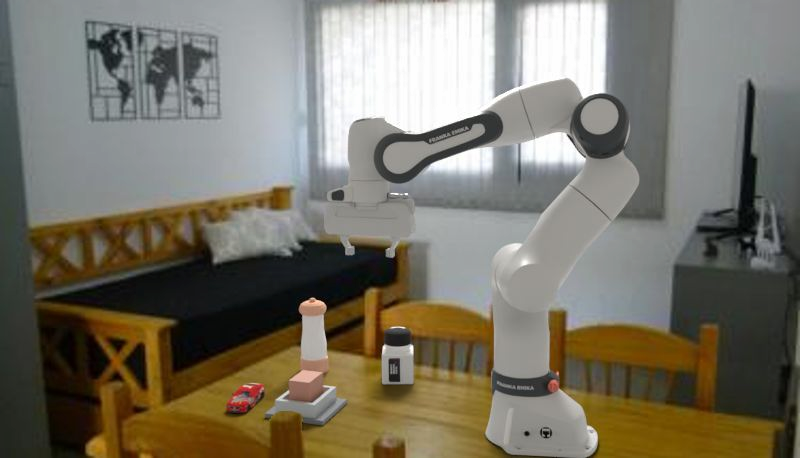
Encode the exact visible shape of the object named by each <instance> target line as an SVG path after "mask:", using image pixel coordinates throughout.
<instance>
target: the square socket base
mask: <svg viewBox="0 0 800 458" xmlns="http://www.w3.org/2000/svg"><path fill="white" fill-rule="evenodd" d="M347 404H348V399H347V398H339V397H337V386H334V385H333V386H331V385H324V384H323V394H322V395H321V396H320V397H319V398H318V399H316V400H315V401H314V402H313V403H309V402H301V401H293V400H289V389H288V390H287V391H286V392H284V393H283V394H281V395H280V396H279V397H277V398H275V400H274V406H272V407H271V408H270V409H269V410H267V411H265V413H264V418H267V419H271V418H270V417H271V416H273V415H274V414H275V413H277V412H279V411H293V412H297V413H300V414H301V415H302V419H303V423H304V424H309V425H317V426H324V425H325V424H326V423H328V422H329V421H330V420H331V419H332V418H333V417H334V416H335V415H336V414H337V413H339V411H340V410H341V409H343V408H344V407H345V406H346V405H347ZM329 419H330V420H329Z"/></svg>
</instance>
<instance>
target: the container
mask: <svg viewBox="0 0 800 458" xmlns="http://www.w3.org/2000/svg"><path fill="white" fill-rule="evenodd" d="M383 333H384V335H383V337H384V345H383V346H382V350H381V351H382V353H381V382H382V385H413V384H414V383H415V381H414V379H415V378H414V376H415V375H414V372H415V371H414V365H415V364H414V363H415V362H414V345H413V344H412V331H411V330H410V329H409V328H406V327H405V326H404V327H403V326H392V327H389V328H386V329H385V330H384V332H383Z"/></svg>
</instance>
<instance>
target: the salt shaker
mask: <svg viewBox="0 0 800 458" xmlns="http://www.w3.org/2000/svg"><path fill="white" fill-rule="evenodd" d="M298 311H299V314H301V315H302V317H301V319H302V320H301V321H302V322H301V323H302V332H301V334H302V335H301V343H300V353H301V356H300V357H299V358H300V359H299V365H300V366H299V367H300V372H301V371H302V370H306V371H315V372H323V374H325V373H327V372H328V371H329V356H328V350H327V347H328V346H327V345H328V344H327V338H326V333H325V332H326V331H325V320H324V319H325V318H324V314H325V313H326V311H327V305H326V304H325V302H323V301H321V300H317V299H316V298H315V297H311V298H309V299H308V300H305V301H303V302H302V303H300V305H299V307H298Z"/></svg>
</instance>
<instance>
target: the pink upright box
mask: <svg viewBox="0 0 800 458" xmlns="http://www.w3.org/2000/svg"><path fill="white" fill-rule="evenodd" d="M323 385H324V373H323V372H315V371H306V370H302V371H300V372H298V373H296V374H295V375H294V376H293V377H292V378H290V379H288V390H289V400H293V401H301V402H309V403H313V402H314V401H315V400H316V399H318V398H319V397H320V396H321V395H322V394H323Z"/></svg>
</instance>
